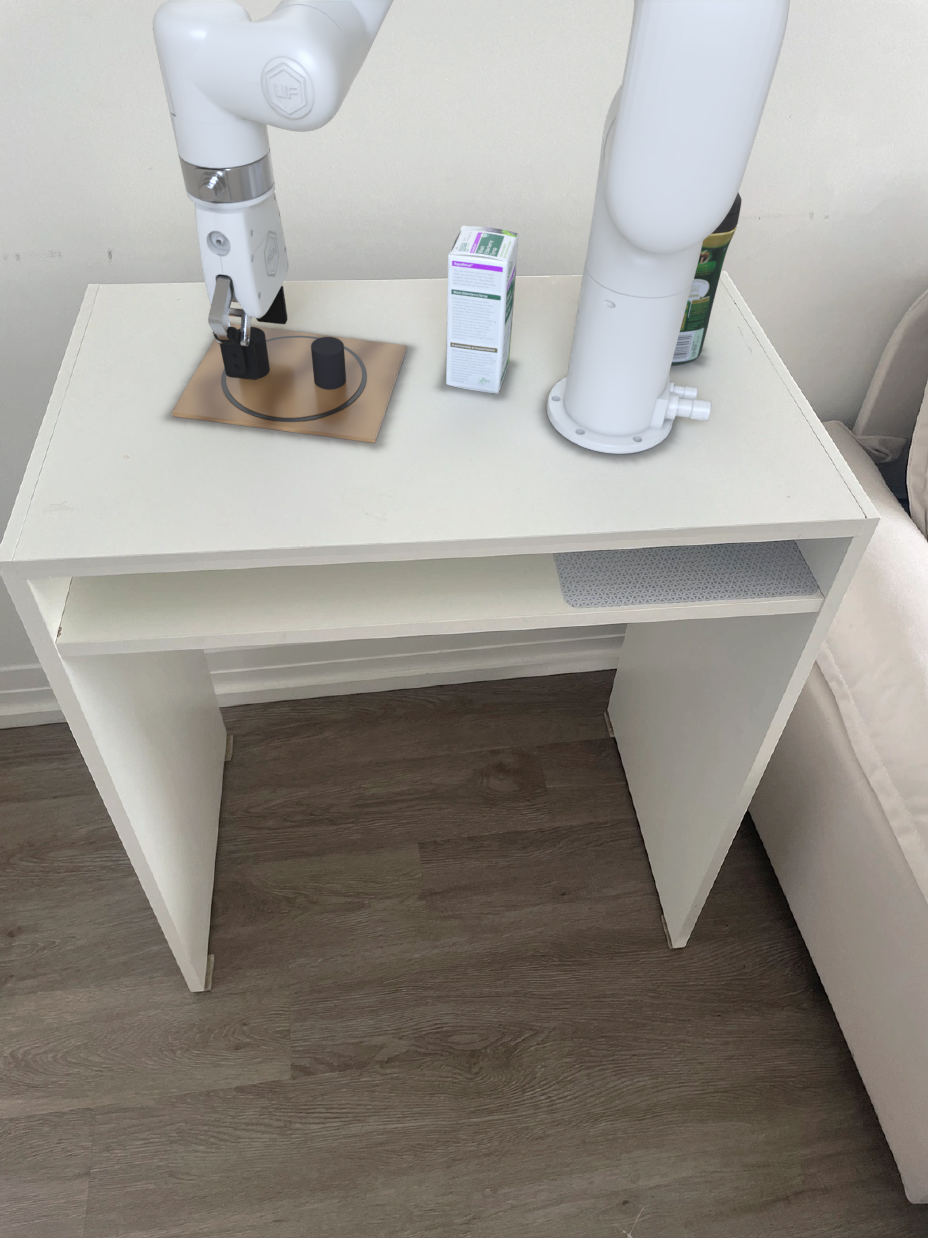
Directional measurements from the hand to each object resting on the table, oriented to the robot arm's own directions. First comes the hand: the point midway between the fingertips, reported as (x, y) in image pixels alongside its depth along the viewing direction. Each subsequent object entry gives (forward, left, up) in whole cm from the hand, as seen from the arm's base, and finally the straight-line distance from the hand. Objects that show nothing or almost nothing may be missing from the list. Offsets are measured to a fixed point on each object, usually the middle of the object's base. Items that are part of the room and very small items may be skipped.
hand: (258, 348), depth 90 cm
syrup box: (-21, -5, -4) cm, 22 cm away
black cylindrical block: (-7, 0, -3) cm, 8 cm away
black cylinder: (+1, 0, -3) cm, 3 cm away
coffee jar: (-40, -15, -4) cm, 43 cm away
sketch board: (-3, 0, -3) cm, 5 cm away
